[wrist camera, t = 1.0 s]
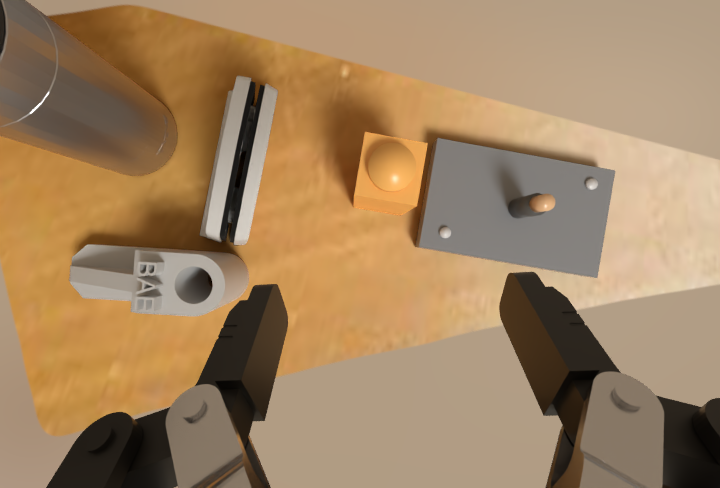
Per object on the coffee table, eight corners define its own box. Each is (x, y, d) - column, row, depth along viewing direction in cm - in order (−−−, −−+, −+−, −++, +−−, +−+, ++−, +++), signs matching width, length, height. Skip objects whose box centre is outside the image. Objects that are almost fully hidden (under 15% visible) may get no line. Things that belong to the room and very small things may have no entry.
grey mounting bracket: (89, 243, 35) (11, 243, 27) (251, 253, 35) (221, 256, 27) (86, 294, 35) (6, 309, 27) (247, 303, 35) (217, 321, 27)
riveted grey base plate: (415, 246, 35) (430, 247, 28) (432, 143, 36) (452, 119, 29) (583, 276, 36) (639, 283, 29) (600, 174, 36) (660, 157, 29)
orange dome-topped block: (353, 207, 35) (354, 193, 26) (361, 159, 35) (365, 128, 26) (400, 215, 35) (419, 204, 26) (408, 168, 35) (430, 140, 26)
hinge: (229, 93, 35) (225, 45, 26) (272, 107, 37) (283, 68, 27) (200, 238, 35) (185, 244, 26) (244, 246, 37) (245, 254, 27)
